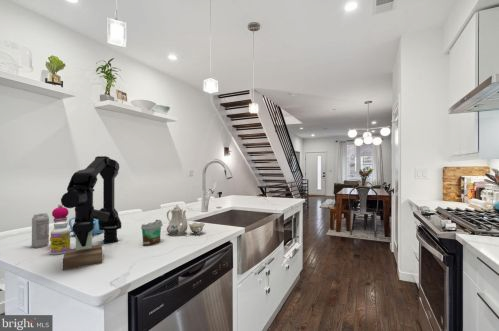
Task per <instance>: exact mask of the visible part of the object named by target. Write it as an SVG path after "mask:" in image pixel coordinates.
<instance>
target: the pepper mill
mask: <svg viewBox="0 0 499 331" xmlns="http://www.w3.org/2000/svg"><path fill="white" fill-rule="evenodd" d="M68 209H69V208H66V207H64V206H63V205H62V203H59V204H57V207H56V208H54V209H53V210H52V211H51V216H52V217H53V222H54V223H57V222H68V215H69V210H68ZM49 237H50V238H49V242H51V236H49Z"/></svg>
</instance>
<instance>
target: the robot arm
mask: <svg viewBox="0 0 499 331" xmlns="http://www.w3.org/2000/svg"><path fill="white" fill-rule="evenodd" d="M119 171H120V163H119V162H118V161H117V160H115V159H112V158H110V157H109V156H107V155H105V156H103V155H100V156H99V155H97V156H95V158H94V159H93V161H92V162H91V163H89V165H88V166H87V167H86V168H84V169H80V170H77V171H75V172H74V173H73V175H72V176H71V178H70V180H69V183H68V185H67V187H66V190H67V192H65V193H64V194H63V195H62V196H61V198H60V204H62V205H63V207H65V208H67V209H73V208H74V217H75V219H74V222H76V223H74V222H73V224H72V227H73V228H72V232H71V233H73V232H74V233H75V234H76V235H75V234H74V233H73V234H74V235H75V237H76V236H77V238H78V240H79V242H80V244H81V246H82V247H84V246H86V242H87V237H88V233H89V232H90V231H91V230H93V222H94V219H98V224H99V230H103V239H102V244H109V243H110V244H111V243H117V242H119V238H118V230H119V229H122V221H121V220H120V217H119V212H118V211H117V210H116V207H115V179H116V177H117V176H118V175H119ZM98 175H100V177H101V178H102V180H103V182H102V183H103V188H102V189H103V196H102V198H103V201H102V203H103V207H101V208H100V209H95V206H94V192H95V189H94V188H95V186H96V184H97V182H98Z"/></svg>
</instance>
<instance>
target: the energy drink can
mask: <svg viewBox="0 0 499 331" xmlns="http://www.w3.org/2000/svg"><path fill="white" fill-rule="evenodd" d="M49 237H50V216H49V215H48V213H47V212H46V213H45V212H44V213H35V214H33V216H32V217H31V246H32V248H33V249H42V248H45V247H47V246H48V244H49V243H50V238H49Z"/></svg>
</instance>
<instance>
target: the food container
mask: <svg viewBox="0 0 499 331" xmlns="http://www.w3.org/2000/svg"><path fill="white" fill-rule="evenodd" d="M140 227H141V228H140V229H141V233H142V246H143V247H144V246H147V247H148V246H155V245H157V244H160V242H161V234H162V232H161V230H162V227H163V222H162V219H161V220H160V219H155V221H154V222H148V223H147V224H141V226H140Z"/></svg>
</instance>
